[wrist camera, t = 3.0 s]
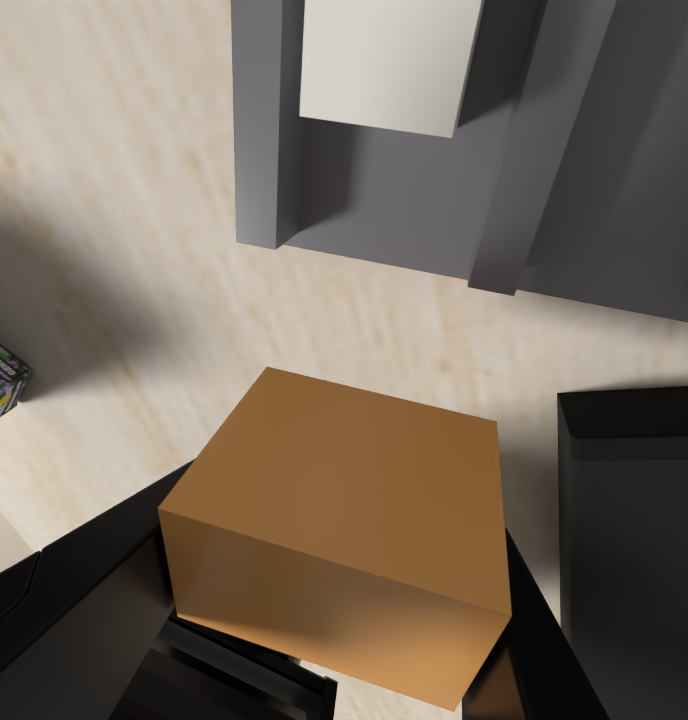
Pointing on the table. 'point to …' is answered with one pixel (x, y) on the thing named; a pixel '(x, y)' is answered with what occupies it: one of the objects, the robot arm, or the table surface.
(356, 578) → the orange block
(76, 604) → the robot arm
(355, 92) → the white block
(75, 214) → the table surface
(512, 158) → the grey ridged tray
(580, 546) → the external hard drive
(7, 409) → the ink box
